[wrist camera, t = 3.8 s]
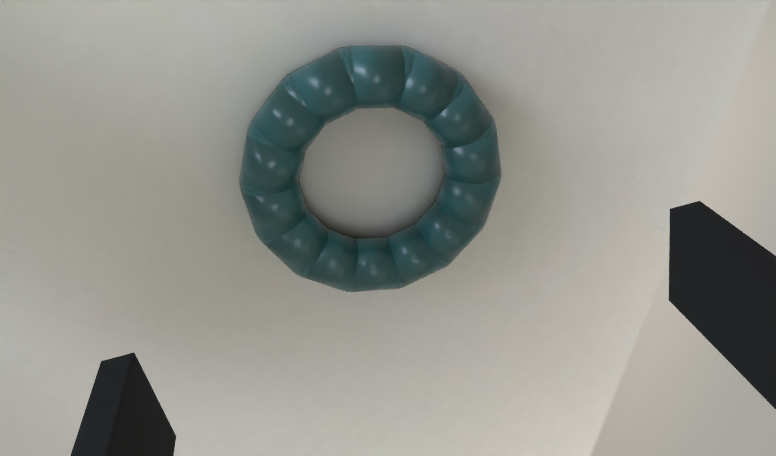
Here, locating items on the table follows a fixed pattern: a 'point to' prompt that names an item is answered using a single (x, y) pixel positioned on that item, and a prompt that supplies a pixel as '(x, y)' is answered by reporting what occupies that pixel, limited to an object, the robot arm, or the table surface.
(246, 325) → the table surface
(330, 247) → the teal beaded ring
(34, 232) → the table surface
